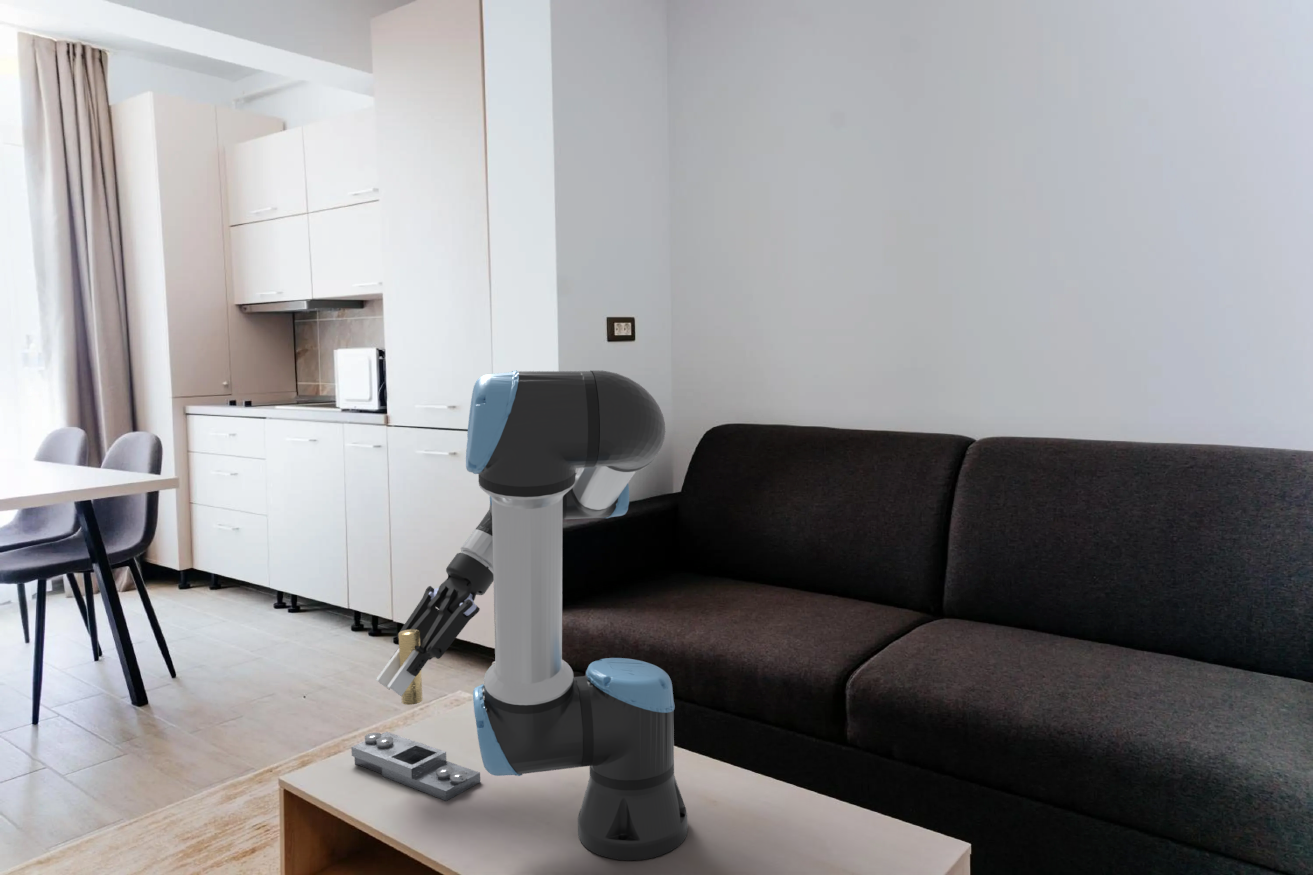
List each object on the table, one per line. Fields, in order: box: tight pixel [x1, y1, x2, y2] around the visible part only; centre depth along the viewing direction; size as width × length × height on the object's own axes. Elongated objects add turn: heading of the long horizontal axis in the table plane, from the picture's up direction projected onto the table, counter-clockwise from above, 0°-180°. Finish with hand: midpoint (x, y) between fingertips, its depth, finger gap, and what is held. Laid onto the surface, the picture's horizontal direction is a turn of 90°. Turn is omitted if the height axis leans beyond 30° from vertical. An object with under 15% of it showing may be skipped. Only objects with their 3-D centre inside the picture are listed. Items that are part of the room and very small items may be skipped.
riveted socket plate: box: [350, 731, 481, 802], centre depth 139 cm, size 23×7×4 cm, turn 56°
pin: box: [398, 629, 424, 706], centre depth 138 cm, size 3×3×11 cm
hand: (388, 687), depth 135 cm, fingers closed on pin, 3 cm apart
